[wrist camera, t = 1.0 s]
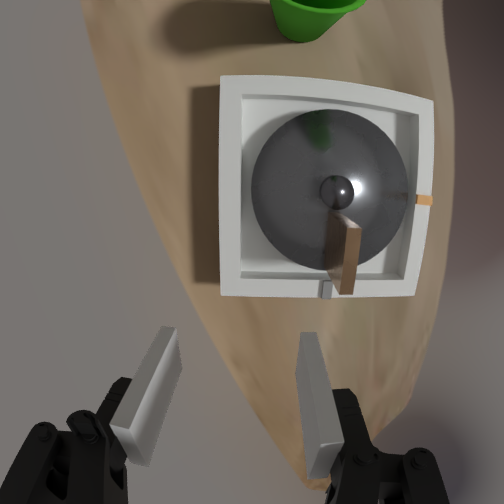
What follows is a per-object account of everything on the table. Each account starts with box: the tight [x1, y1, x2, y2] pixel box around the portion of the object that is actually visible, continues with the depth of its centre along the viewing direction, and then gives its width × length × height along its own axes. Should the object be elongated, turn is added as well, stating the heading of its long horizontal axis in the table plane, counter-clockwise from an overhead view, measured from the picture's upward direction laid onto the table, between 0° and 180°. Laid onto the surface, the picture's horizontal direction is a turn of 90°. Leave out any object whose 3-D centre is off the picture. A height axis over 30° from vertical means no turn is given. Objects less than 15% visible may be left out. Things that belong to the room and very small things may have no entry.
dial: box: [251, 109, 408, 295], centre depth 24 cm, size 16×16×8 cm
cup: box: [270, 0, 366, 42], centre depth 18 cm, size 9×9×11 cm
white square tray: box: [219, 75, 434, 299], centre depth 28 cm, size 22×22×4 cm
